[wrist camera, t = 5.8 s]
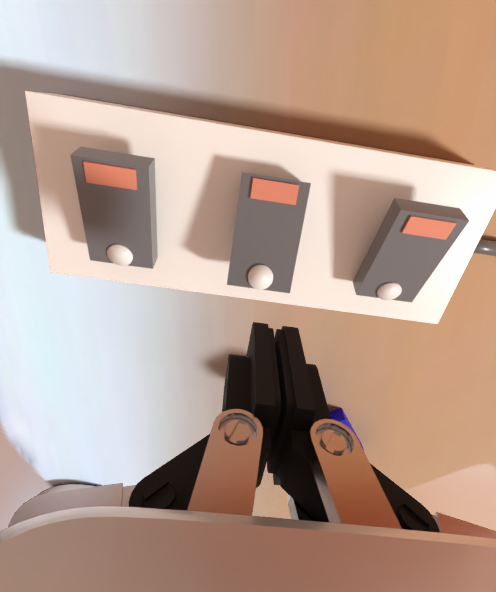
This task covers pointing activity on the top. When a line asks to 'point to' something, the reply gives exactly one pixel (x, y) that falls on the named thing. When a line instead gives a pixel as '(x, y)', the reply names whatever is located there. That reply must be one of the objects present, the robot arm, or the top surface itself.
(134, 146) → the power strip
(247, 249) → the block
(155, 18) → the top surface
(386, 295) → the grey flat block
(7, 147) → the top surface
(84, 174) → the grey rectangular block
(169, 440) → the top surface
